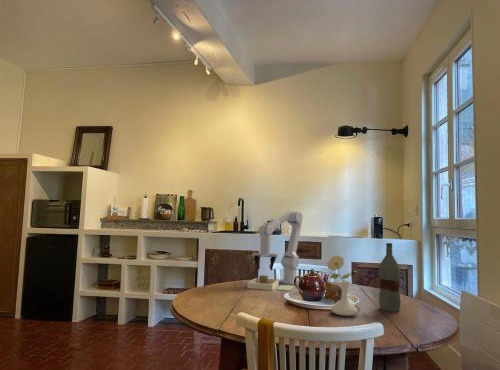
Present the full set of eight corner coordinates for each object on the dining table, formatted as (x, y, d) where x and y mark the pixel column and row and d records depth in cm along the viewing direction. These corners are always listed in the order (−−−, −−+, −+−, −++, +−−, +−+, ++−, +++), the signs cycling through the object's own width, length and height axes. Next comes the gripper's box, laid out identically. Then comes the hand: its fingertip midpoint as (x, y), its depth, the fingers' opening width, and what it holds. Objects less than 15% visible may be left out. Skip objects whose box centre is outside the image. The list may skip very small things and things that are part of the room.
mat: (280, 285, 215) (280, 285, 215) (294, 286, 213) (294, 286, 213) (276, 289, 204) (276, 289, 204) (290, 291, 201) (290, 290, 201)
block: (261, 285, 215) (261, 275, 215) (267, 286, 213) (267, 275, 214) (259, 286, 211) (259, 276, 211) (265, 287, 210) (266, 276, 210)
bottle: (387, 312, 161) (386, 244, 163) (374, 307, 169) (374, 242, 172) (405, 311, 163) (404, 244, 165) (392, 306, 172) (391, 242, 174)
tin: (319, 296, 189) (319, 280, 190) (324, 296, 190) (324, 280, 191) (338, 303, 175) (338, 285, 176) (343, 303, 177) (343, 285, 177)
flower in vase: (355, 311, 162) (355, 254, 164) (360, 318, 151) (360, 257, 153) (325, 310, 163) (325, 253, 165) (328, 317, 152) (328, 256, 154)
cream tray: (255, 283, 222) (255, 278, 222) (278, 285, 217) (278, 279, 217) (247, 288, 207) (247, 282, 207) (272, 290, 202) (272, 284, 203)
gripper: (251, 245, 211) (251, 269, 210) (276, 247, 207) (275, 271, 206) (254, 244, 218) (254, 268, 217) (278, 246, 213) (278, 269, 212)
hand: (264, 269), depth 212 cm, fingers open, 7 cm apart
